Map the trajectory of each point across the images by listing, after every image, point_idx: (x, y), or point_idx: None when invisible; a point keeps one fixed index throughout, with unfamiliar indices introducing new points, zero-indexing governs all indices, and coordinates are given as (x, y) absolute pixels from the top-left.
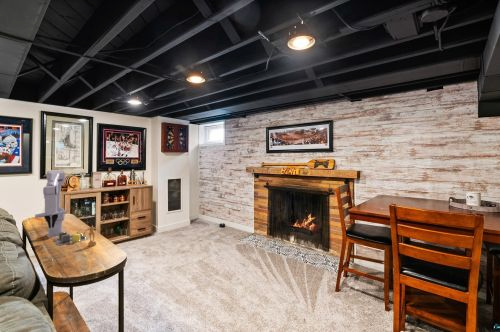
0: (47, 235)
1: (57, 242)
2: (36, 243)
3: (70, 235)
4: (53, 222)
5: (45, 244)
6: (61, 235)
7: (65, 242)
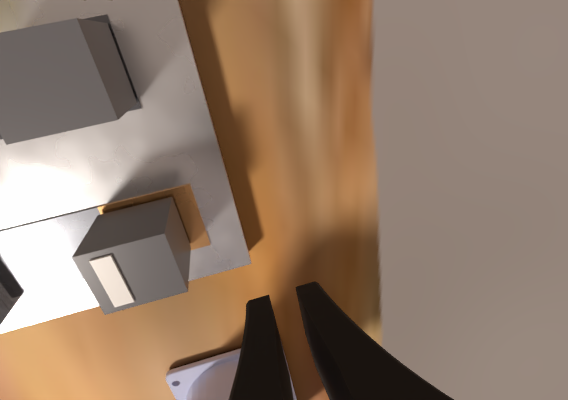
0: (292, 389)
1: (183, 85)
2: (365, 235)
3: (82, 306)
4: (271, 388)
5: (301, 161)
6: (118, 118)
7: (70, 11)
